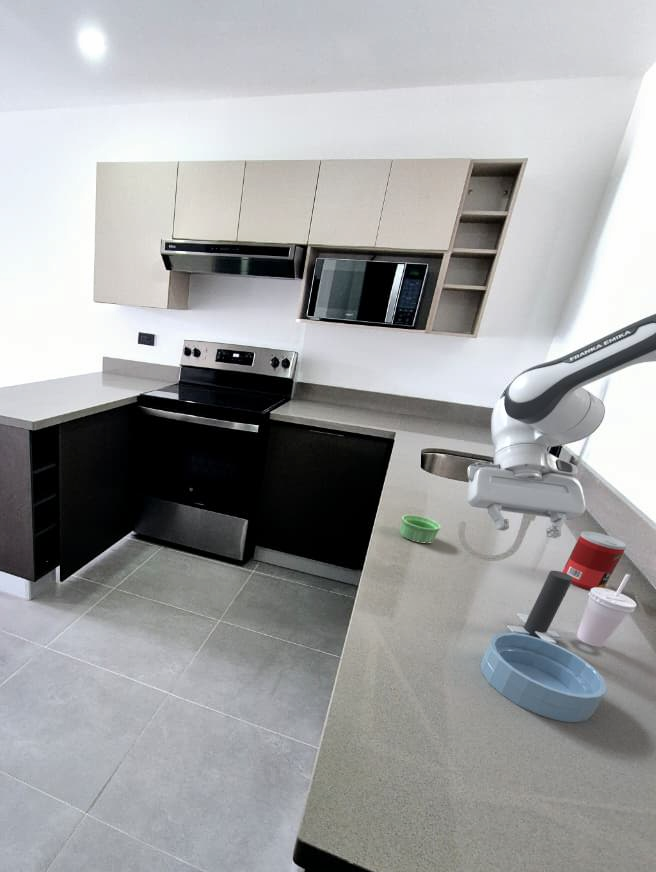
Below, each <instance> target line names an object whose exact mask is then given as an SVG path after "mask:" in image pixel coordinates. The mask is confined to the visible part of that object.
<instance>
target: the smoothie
mask: <svg viewBox="0 0 656 872" xmlns="http://www.w3.org/2000/svg"><path fill="white" fill-rule="evenodd" d="M630 577H631V574H630V573H626V574H625V575H624V577H623V579H622V581H621V582H620V584H619V587H618V588H617V590H613V589H610V588H605V587H604V588H599V587H594V588H592V589H591V590H589V592H588V594H587V595H588V596H589V597H588V600H587V603H586V606H585V610H584V612H583V615H582V619H581V620H580V621H581V622H580V624H579V627H578V630H577V632H576V638H577V639H578V640H580V641H581V642H583V643H584V644H587V645H588V646H591V647H595V648H602V647H603V646H604V645H605V644H606V643H607V641H608V640H609V639H610V637H611V636H612V635H613V634H614V633H615V632H616V630H617V629H618V628H619V627H620V625H621V624H622V623H623V622H624V620H625V619H626V618H627V616H629V614H630V613H631V612H634V611H636V610H635V609H636V608H637V603H636V601H634V600H633V599H632V598H631V597H629V596H627V595H625V594H623V593H622V591H623V590H624V588H625V586H626V585H627V583H628V581H629V579H630Z"/></svg>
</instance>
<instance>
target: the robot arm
mask: <svg viewBox="0 0 656 872" xmlns="http://www.w3.org/2000/svg"><path fill="white" fill-rule="evenodd" d="M651 362H656V313H654V314H652V315H649V316H646V317H644V318H642V319H639V320H637V321H635V322H633V323H631V324H628V325H626V326H624V327H622V328H620V329H617V330H615V331H613V332H612V333H610V334H607V335H605V336H603V337H601V338H599V339H596V340H595V341H593V342H590V343H588V344H586V345H585V346H582V347H580V348H578V349H576V350H574V351H571V352H570V353H568V354H565V355H564V356H560V357H558V358H556V359H553V360H550V361H546V362H543V363H540V364H539V363H538V364H537V365H534V366H531V367H529V368H527V369H525V370H523V371H522V372H520V373H519V374H518V375H516V376H515V377H514V378H513V379H512V380H511V382H510V383H509V384H508V386H507V388H506V391H505V394H504V396H502V397H501V398H500V399H499V400H498V401H497V402H495V405H494V407H493V409H492V412H491V417H490V433H491V442H492V444H493V446H494V453H493V455H492V456H493V463H487V462H485V463H484V462H481V461H476V462H474V463H470V464H469V465H468V466H467V469H466V471H467V478H468V484H467V492H466V495H467V496H466V502H467V503H468V504H469V505H470V506H471V507H473V508H477V509H478V508H479V509H486V510H487V514H488V516H489V517H490V518H491V520H492V521H493V522H494V527H495V528H494V529H495V530H496V531H503V532H505V531H506V530H509V528H510V524H509V523H510V521H509V519H508V518H505V517H504V516H503V514H502V513H501V512H506V513H507V512H508V513H514V514H522V515H527V516H528V515H529V516H535V517H543V518H549V520H550V523H552V525H551V526H550V527H548V528H546V529H545V533H546V537H547V538H552V539H559V538H560V537H561V536H562V526H563V525H564V523H565V522H566V521H572V520H574V519H576V518H579V517H580V516H582V515H583V514H584V513H585V512H586V510H587V505H586V504H587V503H586V497H585V494H584V489H583V486H582V484H581V482H580V480H578V479H577V478H576V477H575V476H577V475H578V473H579V468H578V466H577V465H576V464H573V463H571V462H568V461H566V460H563V459H561V458H559V457H557V456H555V455H553V454H552V453H549V452H548V448H554V447H560V446H564V445H568V444H572V443H575V442H579V441H581V440H584V439H586V438H588V437H589V436H591V435H592V434H593V433H594V432H596V431H597V429H598V428H599V427H600V426H601V424H602V422H603V421H604V418H605V414H606V406H605V404H604V403H603V400H601V399H600V398H598V396H596V395H594V394H593V392H590V391H589V390H587V389H586V388H584V387H585V386H587V385H589V384H592V383H595V382H596V381H598V380H601V379H603V378H605V377H608V376H610V375H612V374H614V373H618V372H620V371H622V370H624V369H626V368H628V367H632V366H634V365H638V364H644V363H651Z"/></svg>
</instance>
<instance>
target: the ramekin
mask: <svg viewBox="0 0 656 872" xmlns="http://www.w3.org/2000/svg"><path fill="white" fill-rule="evenodd" d="M441 528H442V527H441V524H439V523H438V522H437V521H436V520H433V519H431V518H428V517H427V516H426V517H425V516H422V515H418V514H404V515H402V517H401V524H400V529H399V534H400V536H401V535H402V536H401V537H403V536H404V537H406V538H408V539H411V540H415V541H419V542H425V543H429V542H432V543H433V542H434V541H435V539H436V537H437V534H438V533H439V531H440V530H441ZM404 537H403V538H404ZM406 538H405V539H406ZM408 539H407V540H408Z"/></svg>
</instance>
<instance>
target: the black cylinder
mask: <svg viewBox="0 0 656 872" xmlns="http://www.w3.org/2000/svg"><path fill="white" fill-rule="evenodd" d="M572 580H573V578H572V577H571V576H570V575H568V574H566V573H563V571H559V570H550V571H549V573H548V575H547V577H546V579H545V581H544V584H543V585H542V587H541V590H540V592H539V594H538V596H537V597H536V600H535V603H534V605H533V607H532V609H531V611H530V613H529V615H528V614H526V613H518V612H517V613H516V616H517V617H518V618H519V619H520V620H521V621H522V622H523V623H525V624H524V625H523V626H518V625H517V626H516V625H510V624H508V625H507V626H506V627H507V628H508V629H509V630H510V631H511V632H512V633H519V634H526V635H530V636H533V637H537V638H540V639H544V640H546V641H548V642H551V643H553V644H556V645H557V641H556V640H555V639H562V636H561V635H560V634H558V633H557V632H556V631H555V630H549V628H550V626H551V624H552V622H553V620H554V618H555V616H556V614H557V612H558V610H559V609H560V607H561V604H562V603H563V600H564V599H565V596H566V594H567V593H568V590H569V588H570V586H571V585H572V584H571V582H572Z"/></svg>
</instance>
